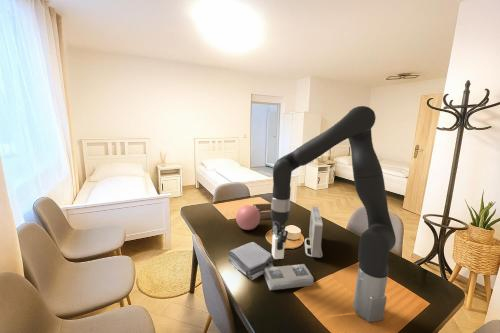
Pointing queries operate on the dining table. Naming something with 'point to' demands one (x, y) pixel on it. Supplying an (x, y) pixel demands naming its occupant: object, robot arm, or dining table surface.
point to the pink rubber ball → (248, 217)
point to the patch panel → (288, 277)
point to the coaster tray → (266, 213)
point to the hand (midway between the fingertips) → (278, 246)
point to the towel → (251, 259)
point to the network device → (315, 233)
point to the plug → (275, 252)
